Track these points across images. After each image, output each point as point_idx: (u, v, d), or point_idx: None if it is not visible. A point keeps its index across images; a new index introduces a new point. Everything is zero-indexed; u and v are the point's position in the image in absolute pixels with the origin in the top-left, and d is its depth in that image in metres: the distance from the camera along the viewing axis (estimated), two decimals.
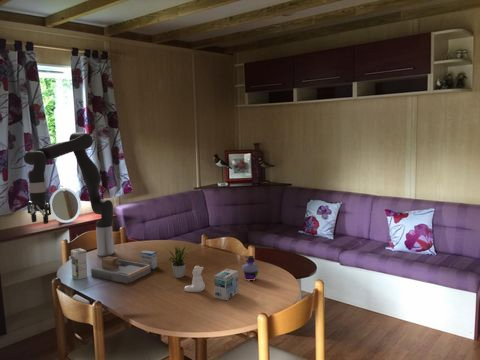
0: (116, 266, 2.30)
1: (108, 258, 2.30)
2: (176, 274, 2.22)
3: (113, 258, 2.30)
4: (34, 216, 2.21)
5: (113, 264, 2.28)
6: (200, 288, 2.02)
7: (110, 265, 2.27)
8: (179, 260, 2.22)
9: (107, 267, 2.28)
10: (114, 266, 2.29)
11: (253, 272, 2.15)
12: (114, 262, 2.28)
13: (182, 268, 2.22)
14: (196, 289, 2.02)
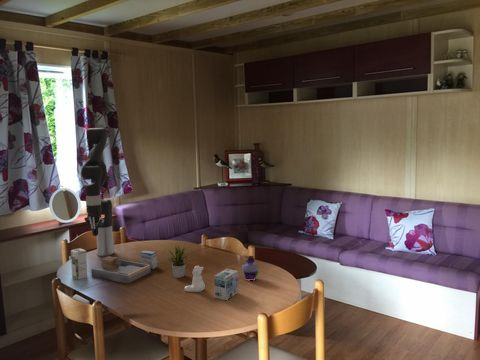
0: (116, 266, 2.30)
1: (108, 258, 2.30)
2: (176, 274, 2.22)
3: (113, 258, 2.30)
4: None
5: (113, 264, 2.28)
6: (200, 288, 2.02)
7: (110, 265, 2.27)
8: (179, 260, 2.22)
9: (107, 267, 2.28)
10: (114, 266, 2.29)
11: (253, 272, 2.15)
12: (114, 262, 2.28)
13: (182, 268, 2.22)
14: (196, 289, 2.02)
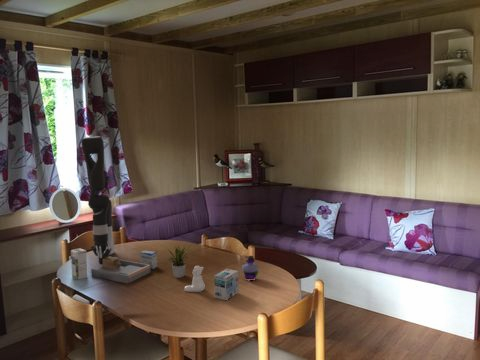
0: (117, 266, 2.30)
1: (109, 258, 2.30)
2: (176, 274, 2.22)
3: (114, 258, 2.30)
4: None
5: (114, 264, 2.28)
6: (200, 288, 2.02)
7: (111, 265, 2.27)
8: (179, 260, 2.22)
9: (108, 267, 2.28)
10: (115, 266, 2.28)
11: (253, 272, 2.15)
12: (115, 262, 2.28)
13: (182, 268, 2.22)
14: (196, 289, 2.02)
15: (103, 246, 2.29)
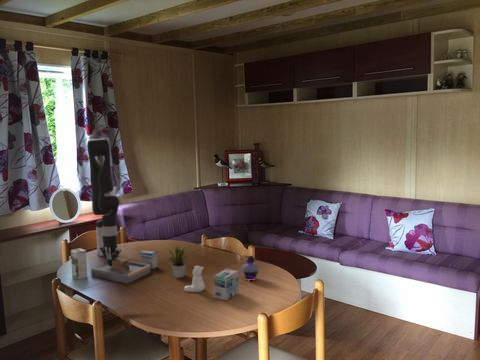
0: (126, 268, 2.27)
1: (118, 260, 2.27)
2: (176, 274, 2.22)
3: (123, 260, 2.27)
4: None
5: (124, 265, 2.25)
6: (200, 288, 2.02)
7: (120, 267, 2.24)
8: (179, 260, 2.22)
9: (117, 269, 2.25)
10: (125, 268, 2.26)
11: (253, 272, 2.15)
12: (125, 264, 2.25)
13: (182, 268, 2.22)
14: (196, 289, 2.02)
15: (112, 247, 2.27)
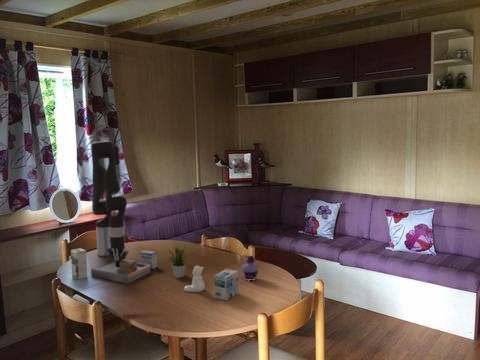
0: (134, 269, 2.25)
1: (126, 261, 2.25)
2: (176, 274, 2.22)
3: (131, 261, 2.25)
4: None
5: (131, 267, 2.22)
6: (200, 288, 2.02)
7: (128, 269, 2.22)
8: (179, 260, 2.22)
9: (125, 270, 2.23)
10: (132, 270, 2.23)
11: (253, 272, 2.15)
12: (132, 265, 2.23)
13: (182, 268, 2.22)
14: (196, 289, 2.02)
15: (120, 249, 2.24)
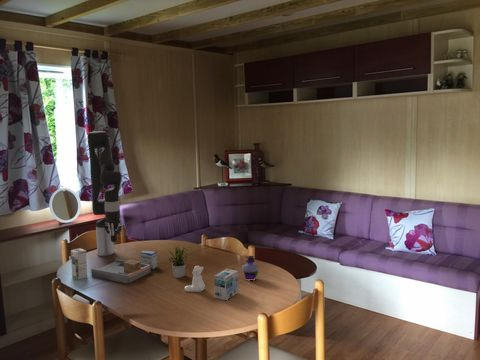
0: None
1: (130, 262, 2.23)
2: (176, 274, 2.22)
3: (135, 262, 2.23)
4: None
5: (136, 267, 2.21)
6: (200, 288, 2.02)
7: (132, 269, 2.21)
8: (179, 260, 2.22)
9: (129, 271, 2.22)
10: None
11: (253, 272, 2.15)
12: (137, 266, 2.22)
13: (182, 268, 2.22)
14: (196, 289, 2.02)
15: (115, 223, 2.24)
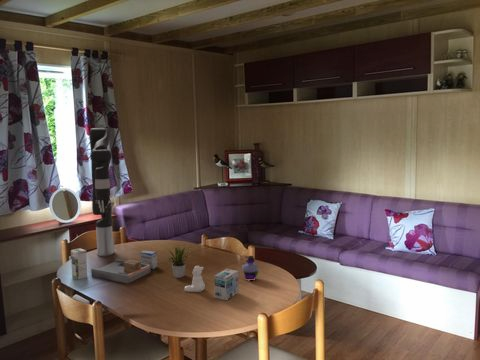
0: None
1: (130, 262, 2.23)
2: (176, 274, 2.22)
3: (135, 262, 2.23)
4: None
5: (136, 267, 2.21)
6: (200, 288, 2.02)
7: (132, 269, 2.21)
8: (179, 260, 2.22)
9: (129, 271, 2.22)
10: None
11: (253, 272, 2.15)
12: (137, 266, 2.22)
13: (182, 268, 2.22)
14: (196, 289, 2.02)
15: (105, 200, 2.32)
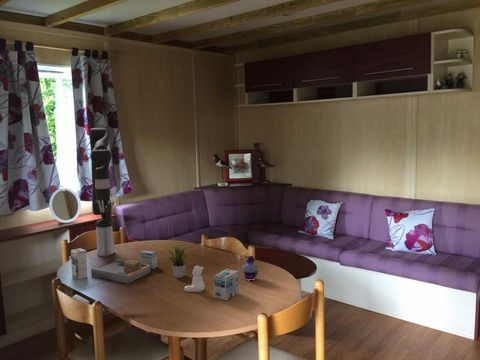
0: None
1: (130, 262, 2.23)
2: (176, 274, 2.22)
3: (135, 262, 2.23)
4: None
5: (136, 267, 2.21)
6: (200, 288, 2.02)
7: (132, 269, 2.21)
8: (179, 260, 2.22)
9: (129, 271, 2.22)
10: None
11: (253, 272, 2.15)
12: (137, 266, 2.22)
13: (182, 268, 2.22)
14: (196, 289, 2.02)
15: (105, 200, 2.32)
